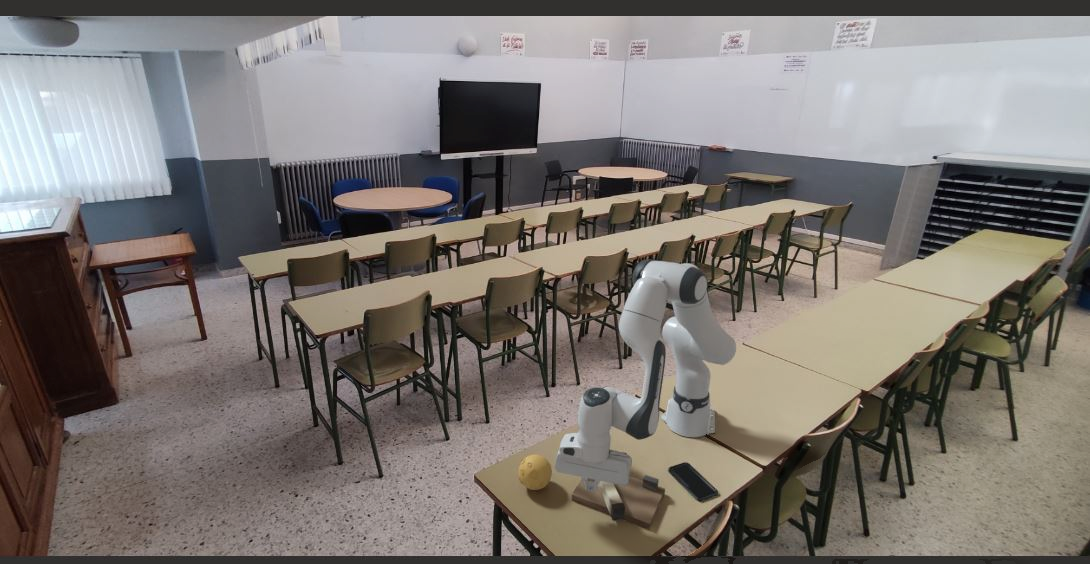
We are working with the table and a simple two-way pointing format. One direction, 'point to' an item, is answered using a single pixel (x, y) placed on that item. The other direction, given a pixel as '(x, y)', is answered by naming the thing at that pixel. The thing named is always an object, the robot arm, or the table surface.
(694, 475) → the phone
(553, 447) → the table surface
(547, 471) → the stress ball
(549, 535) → the table surface
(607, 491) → the stool leg
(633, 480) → the seat board
